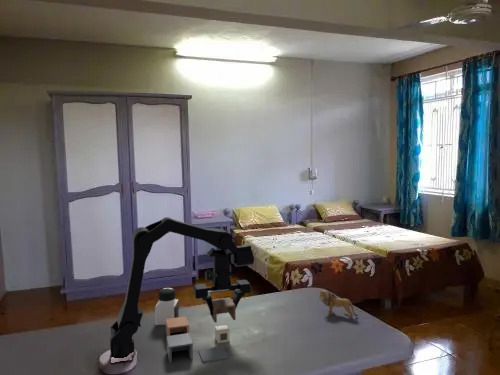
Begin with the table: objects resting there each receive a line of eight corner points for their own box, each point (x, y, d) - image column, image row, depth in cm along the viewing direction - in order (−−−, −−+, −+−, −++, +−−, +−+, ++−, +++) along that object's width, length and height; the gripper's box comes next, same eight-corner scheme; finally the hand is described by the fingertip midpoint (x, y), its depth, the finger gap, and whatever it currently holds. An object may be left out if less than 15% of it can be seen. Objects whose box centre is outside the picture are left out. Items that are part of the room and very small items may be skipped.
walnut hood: (214, 322, 127) (214, 307, 126) (210, 314, 134) (209, 299, 133) (235, 319, 129) (235, 305, 129) (230, 311, 136) (229, 297, 135)
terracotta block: (168, 342, 130) (167, 327, 130) (165, 332, 137) (165, 318, 136) (189, 339, 132) (189, 324, 132) (186, 330, 139) (185, 316, 138)
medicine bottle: (174, 325, 142) (174, 293, 141) (155, 325, 143) (154, 293, 142) (178, 317, 150) (178, 286, 148) (160, 316, 150) (159, 286, 149)
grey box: (169, 362, 117) (169, 346, 117) (166, 351, 124) (166, 336, 124) (192, 359, 120) (192, 343, 119) (189, 348, 126) (188, 333, 126)
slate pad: (202, 362, 117) (202, 361, 117) (198, 351, 124) (198, 350, 124) (228, 358, 120) (228, 357, 120) (223, 347, 126) (223, 346, 126)
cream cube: (217, 343, 129) (217, 331, 129) (215, 337, 133) (214, 326, 133) (229, 341, 131) (229, 330, 130) (226, 336, 135) (226, 324, 134)
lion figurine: (318, 314, 152) (318, 292, 151) (320, 309, 157) (320, 287, 156) (357, 320, 147) (358, 296, 146) (358, 314, 152) (358, 291, 152)
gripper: (242, 259, 140) (242, 301, 142) (189, 263, 135) (190, 307, 136) (252, 268, 130) (252, 313, 131) (195, 273, 124) (196, 321, 125)
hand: (222, 313), depth 131 cm, fingers closed on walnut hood, 7 cm apart
